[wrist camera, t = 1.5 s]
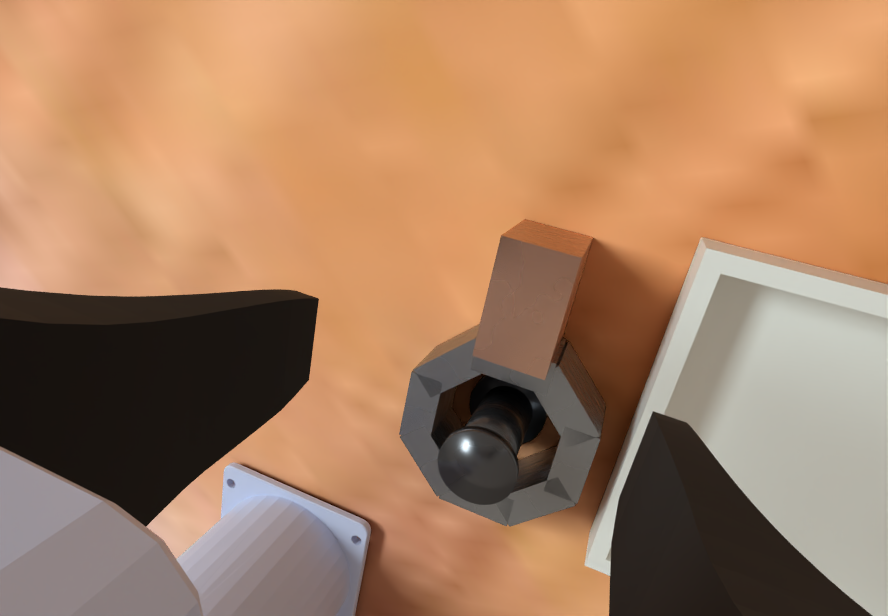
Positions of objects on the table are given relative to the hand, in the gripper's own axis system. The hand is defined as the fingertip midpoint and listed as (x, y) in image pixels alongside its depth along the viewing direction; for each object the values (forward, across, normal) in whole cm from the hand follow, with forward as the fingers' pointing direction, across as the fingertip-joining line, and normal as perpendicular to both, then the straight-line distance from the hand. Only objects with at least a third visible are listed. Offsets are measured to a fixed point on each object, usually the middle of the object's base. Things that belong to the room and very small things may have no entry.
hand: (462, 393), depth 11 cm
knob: (+9, 0, +5) cm, 11 cm away
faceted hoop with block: (+9, 0, +3) cm, 10 cm away
